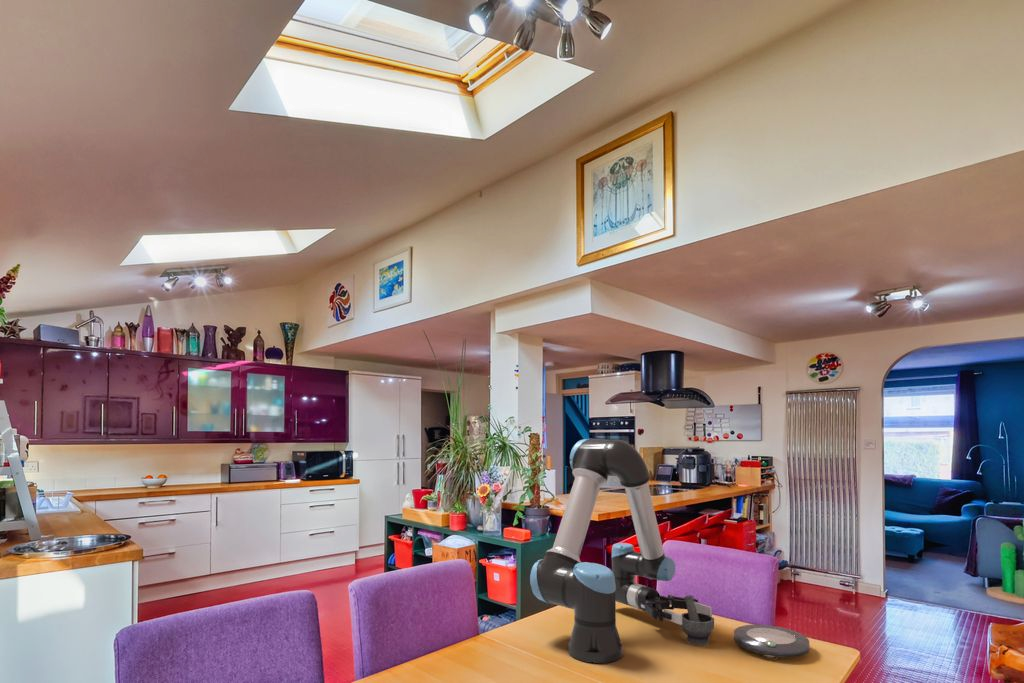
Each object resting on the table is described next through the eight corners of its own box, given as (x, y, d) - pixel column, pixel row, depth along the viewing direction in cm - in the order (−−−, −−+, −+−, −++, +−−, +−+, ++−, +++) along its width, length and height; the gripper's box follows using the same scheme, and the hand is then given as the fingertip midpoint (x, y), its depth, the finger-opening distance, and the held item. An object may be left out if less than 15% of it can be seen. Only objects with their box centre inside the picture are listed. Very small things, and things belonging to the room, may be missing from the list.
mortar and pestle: (720, 647, 175) (719, 603, 176) (690, 648, 173) (689, 605, 175) (702, 633, 186) (701, 592, 187) (673, 635, 184) (672, 594, 186)
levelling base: (783, 668, 160) (782, 650, 160) (719, 645, 176) (719, 628, 177) (824, 653, 170) (823, 636, 171) (761, 632, 187) (760, 617, 188)
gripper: (670, 604, 205) (723, 621, 187) (616, 616, 191) (668, 637, 174) (669, 581, 206) (722, 596, 188) (616, 592, 192) (668, 609, 175)
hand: (696, 615), depth 181 cm, fingers open, 13 cm apart
